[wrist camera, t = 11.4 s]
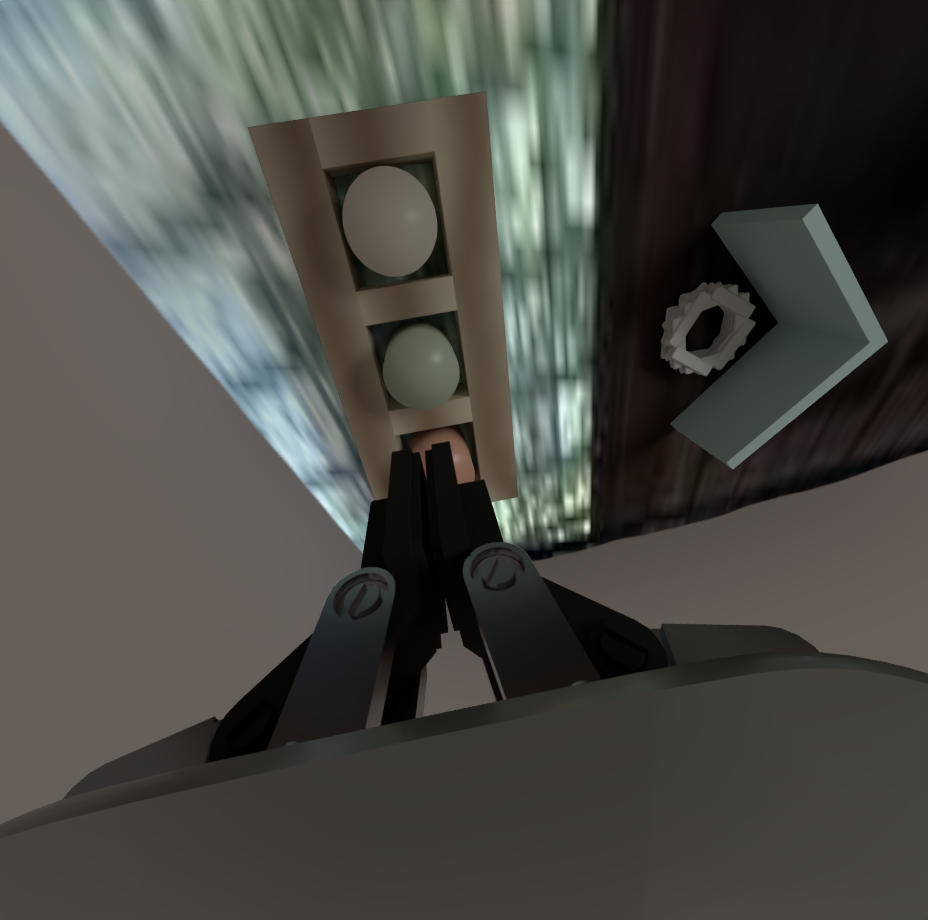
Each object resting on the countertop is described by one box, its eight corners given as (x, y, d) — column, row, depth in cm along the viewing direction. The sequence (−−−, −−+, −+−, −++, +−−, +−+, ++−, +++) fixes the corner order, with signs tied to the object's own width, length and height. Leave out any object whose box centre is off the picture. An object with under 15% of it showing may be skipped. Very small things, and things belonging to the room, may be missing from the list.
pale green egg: (446, 314, 26) (453, 328, 22) (456, 378, 29) (464, 402, 24) (379, 326, 26) (373, 342, 22) (395, 389, 28) (393, 415, 24)
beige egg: (424, 174, 22) (427, 158, 18) (438, 264, 24) (444, 268, 20) (344, 187, 22) (329, 174, 18) (367, 276, 24) (358, 283, 20)
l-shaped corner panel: (716, 213, 26) (817, 203, 19) (788, 320, 31) (888, 341, 24) (592, 351, 30) (642, 381, 23) (673, 427, 35) (732, 469, 28)
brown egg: (462, 415, 30) (470, 444, 26) (469, 464, 33) (478, 497, 29) (404, 426, 30) (404, 456, 26) (416, 473, 33) (418, 508, 28)
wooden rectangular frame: (476, 109, 21) (485, 91, 18) (509, 478, 35) (518, 496, 32) (268, 141, 21) (247, 127, 18) (384, 502, 34) (382, 523, 32)
